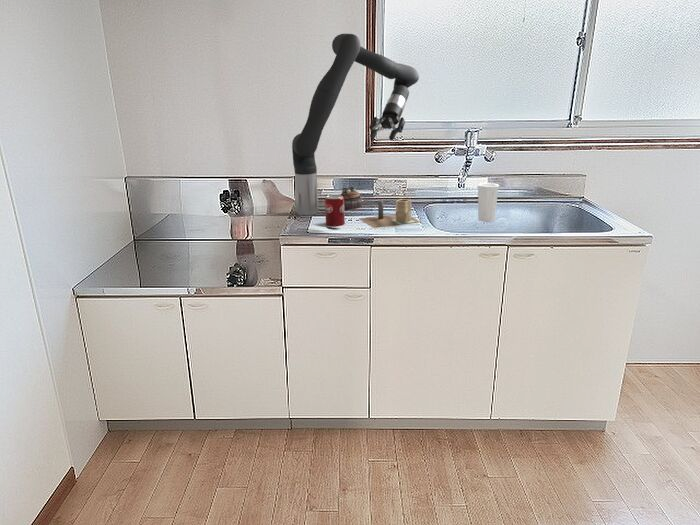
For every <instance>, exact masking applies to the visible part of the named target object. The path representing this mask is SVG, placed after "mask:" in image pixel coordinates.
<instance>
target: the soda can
mask: <svg viewBox="0 0 700 525" xmlns="http://www.w3.org/2000/svg"><path fill="white" fill-rule="evenodd" d="M324 207H325V208H324V210H325V226H326V229H328V230H332V231H337V230H340V228H338V227H341V226H344V225H345V224H346V221H345V220H346V219H345V216H346V215H345V213H346V212H345V211H344V197H343V196H341V195H340V194H332V195H327V196H325V198H324Z"/></svg>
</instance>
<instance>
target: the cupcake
mask: <svg viewBox="0 0 700 525" xmlns="http://www.w3.org/2000/svg"><path fill="white" fill-rule="evenodd" d="M339 195H341V196H343V197H344V212H346V211H348V210H355V209H360V208H362V206H363V205H362V203H363V200H364V199H363V198H362V197H361V193H360V192H358V190H357V189H356V188H355V187H353V186H349V187H348V188H347V187H342V190H341V193H340V194H339Z"/></svg>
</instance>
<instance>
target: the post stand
mask: <svg viewBox="0 0 700 525" xmlns="http://www.w3.org/2000/svg"><path fill="white" fill-rule="evenodd" d="M377 205H378V206H377V207H378V208H377V209H378V210H377V212H378V213H377V214H378V215H376V216H368V217H359V218H358V220H360V221H361V222H364V223H365V225H366V224H367V225H368V226H370V227H371V228H373V229H377V228H386V227H394V226H402V225H411V224H419V223H422V221H420V220H419V219H416V218H415V217H413V216H411V221H409V222H407V223H404V222H396V213H394V214H387V215H384V200H378V202H377Z"/></svg>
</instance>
